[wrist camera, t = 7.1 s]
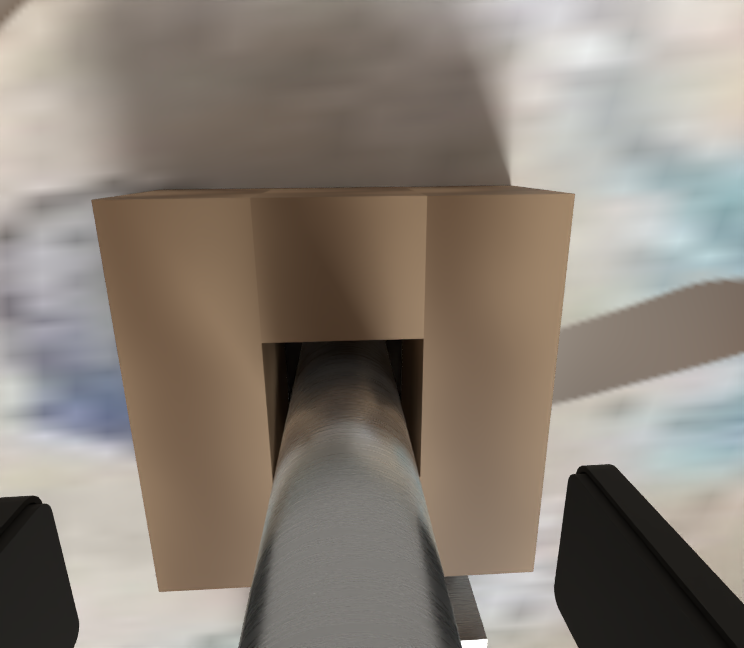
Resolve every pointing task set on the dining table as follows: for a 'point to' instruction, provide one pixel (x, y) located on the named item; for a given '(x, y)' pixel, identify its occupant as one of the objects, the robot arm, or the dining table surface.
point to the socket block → (335, 323)
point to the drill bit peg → (347, 518)
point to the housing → (466, 612)
